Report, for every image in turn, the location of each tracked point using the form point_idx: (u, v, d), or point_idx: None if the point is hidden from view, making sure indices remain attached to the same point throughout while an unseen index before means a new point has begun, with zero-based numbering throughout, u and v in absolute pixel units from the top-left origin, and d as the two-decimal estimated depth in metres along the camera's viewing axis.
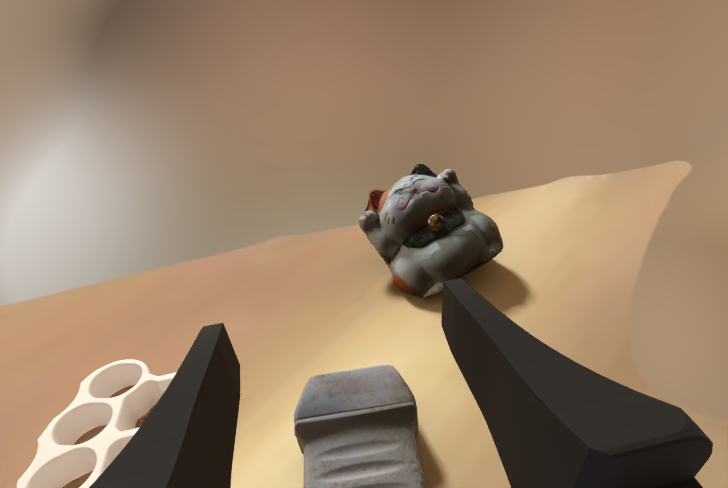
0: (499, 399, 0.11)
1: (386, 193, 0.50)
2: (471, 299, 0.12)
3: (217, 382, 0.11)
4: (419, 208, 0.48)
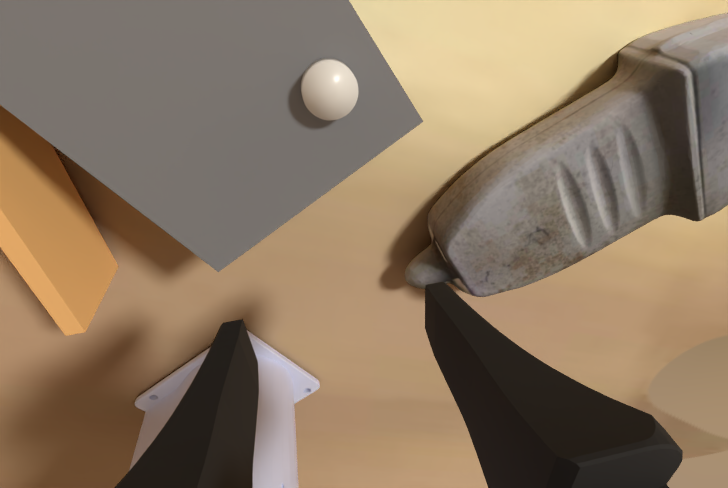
0: (477, 404, 0.11)
1: None
2: (452, 303, 0.12)
3: (239, 378, 0.11)
4: None
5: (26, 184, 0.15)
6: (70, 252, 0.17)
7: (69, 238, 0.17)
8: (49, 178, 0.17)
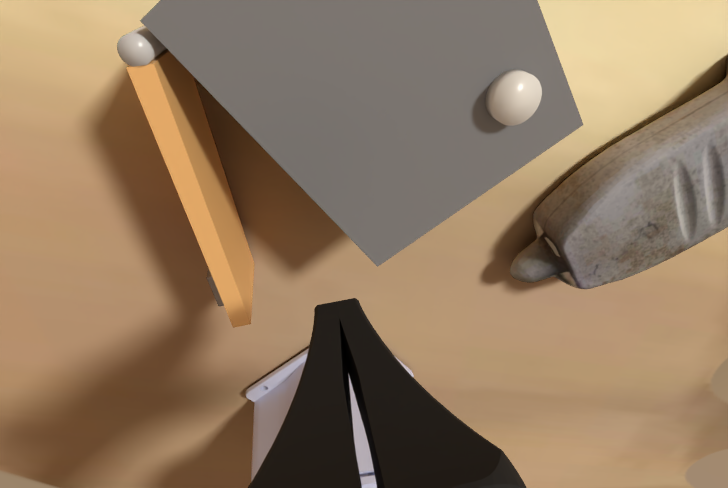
0: (367, 428, 0.10)
1: None
2: (354, 322, 0.12)
3: (343, 356, 0.12)
4: None
5: (214, 188, 0.17)
6: (236, 250, 0.19)
7: (234, 237, 0.19)
8: (220, 182, 0.18)
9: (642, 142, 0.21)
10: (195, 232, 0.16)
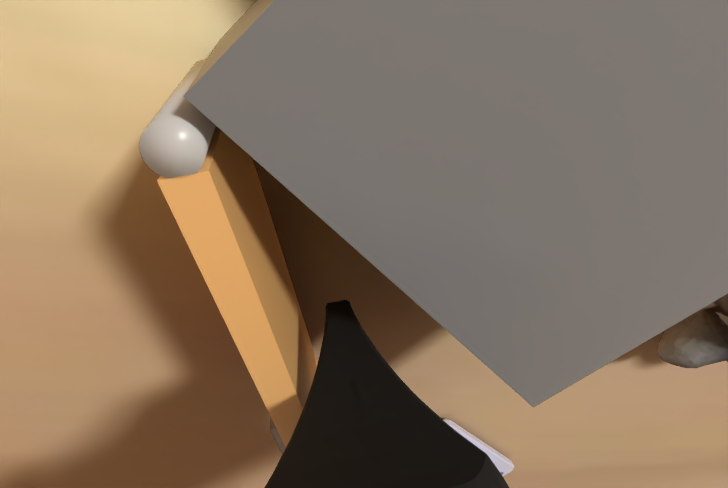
0: None
1: None
2: (344, 324, 0.12)
3: None
4: None
5: (286, 316, 0.11)
6: None
7: (307, 367, 0.13)
8: (288, 293, 0.12)
9: None
10: (265, 401, 0.10)
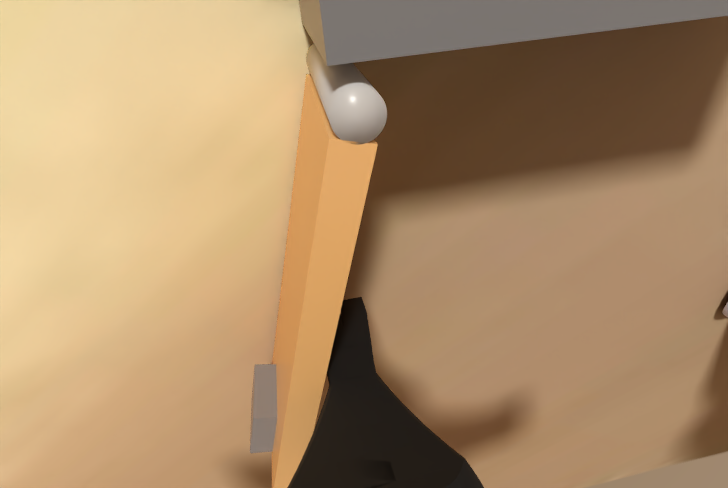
0: None
1: None
2: None
3: None
4: None
5: None
6: None
7: None
8: None
9: None
10: (292, 384, 0.10)
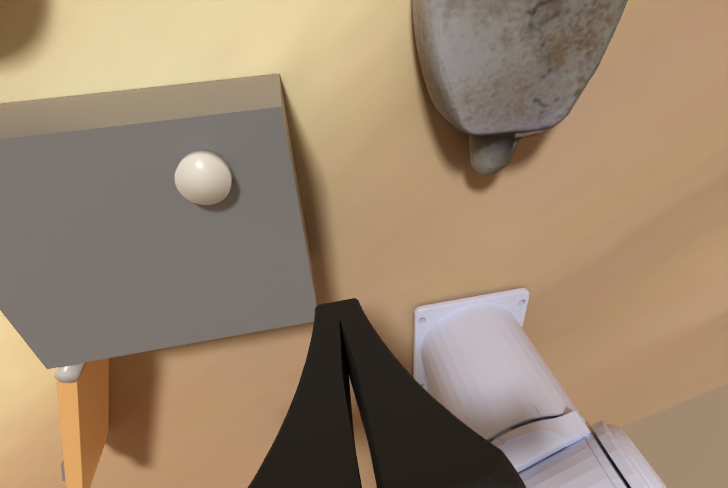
0: (367, 429, 0.10)
1: None
2: (354, 322, 0.12)
3: (343, 357, 0.12)
4: None
5: (92, 415, 0.23)
6: (94, 447, 0.25)
7: (96, 436, 0.25)
8: (101, 398, 0.24)
9: None
10: (64, 455, 0.22)
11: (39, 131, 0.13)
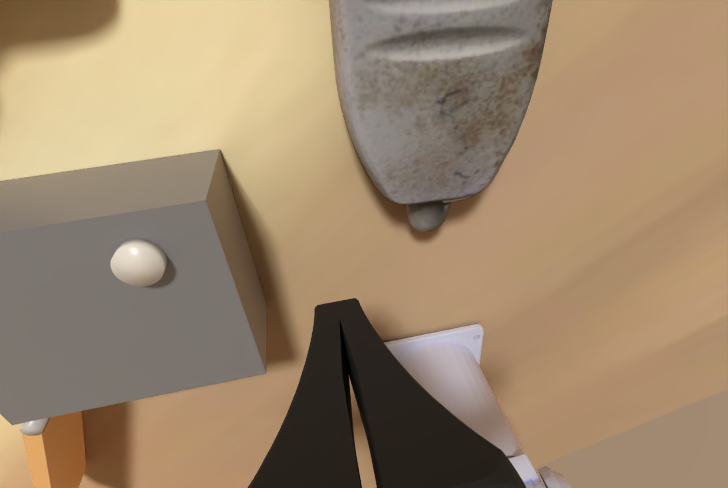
0: (367, 428, 0.10)
1: None
2: (354, 322, 0.12)
3: (343, 357, 0.12)
4: None
5: (64, 456, 0.24)
6: (68, 484, 0.26)
7: (71, 473, 0.26)
8: (74, 438, 0.26)
9: (335, 62, 0.16)
10: None
11: None
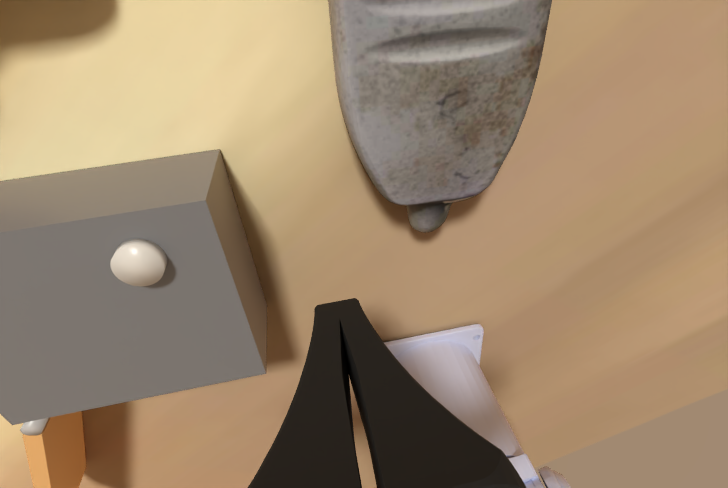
0: (367, 428, 0.10)
1: None
2: (354, 322, 0.12)
3: (343, 357, 0.12)
4: None
5: (64, 456, 0.24)
6: (68, 484, 0.26)
7: (71, 473, 0.26)
8: (74, 438, 0.26)
9: (335, 64, 0.16)
10: None
11: None
